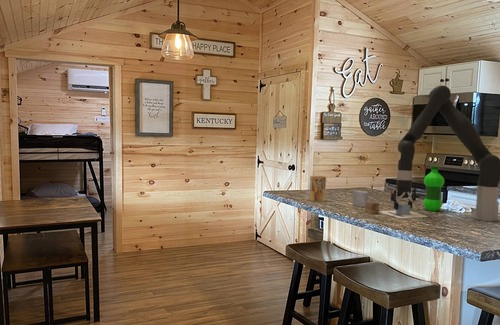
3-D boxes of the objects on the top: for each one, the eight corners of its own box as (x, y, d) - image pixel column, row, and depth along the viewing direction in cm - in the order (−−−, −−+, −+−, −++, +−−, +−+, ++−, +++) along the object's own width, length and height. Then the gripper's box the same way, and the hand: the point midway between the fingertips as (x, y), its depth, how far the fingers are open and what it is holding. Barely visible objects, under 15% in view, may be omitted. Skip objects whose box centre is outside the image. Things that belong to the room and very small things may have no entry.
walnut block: (372, 212, 224) (373, 201, 224) (378, 214, 220) (379, 203, 219) (365, 213, 223) (365, 202, 222) (370, 214, 218) (371, 203, 218)
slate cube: (403, 212, 224) (403, 203, 223) (409, 214, 219) (410, 205, 218) (395, 213, 222) (396, 203, 222) (401, 215, 217) (402, 205, 217)
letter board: (405, 210, 232) (405, 210, 232) (428, 217, 215) (428, 216, 215) (377, 212, 226) (377, 211, 226) (399, 219, 209) (399, 218, 209)
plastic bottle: (419, 210, 235) (422, 165, 233) (426, 207, 243) (429, 165, 241) (438, 212, 228) (440, 167, 226) (444, 210, 236) (447, 166, 234)
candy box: (322, 199, 263) (323, 175, 262) (325, 201, 259) (326, 176, 258) (309, 200, 261) (310, 175, 260) (311, 201, 257) (312, 176, 256)
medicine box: (368, 206, 242) (369, 191, 242) (364, 207, 239) (365, 192, 238) (356, 204, 248) (356, 190, 247) (352, 205, 244) (353, 191, 244)
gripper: (410, 177, 225) (409, 207, 226) (388, 178, 220) (387, 208, 221) (420, 179, 218) (418, 210, 219) (397, 179, 213) (396, 211, 214)
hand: (402, 209), depth 220 cm, fingers open, 8 cm apart
